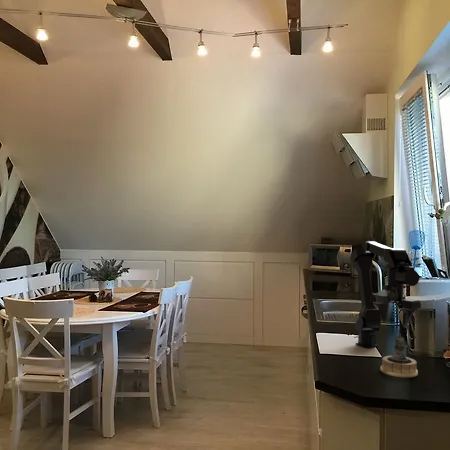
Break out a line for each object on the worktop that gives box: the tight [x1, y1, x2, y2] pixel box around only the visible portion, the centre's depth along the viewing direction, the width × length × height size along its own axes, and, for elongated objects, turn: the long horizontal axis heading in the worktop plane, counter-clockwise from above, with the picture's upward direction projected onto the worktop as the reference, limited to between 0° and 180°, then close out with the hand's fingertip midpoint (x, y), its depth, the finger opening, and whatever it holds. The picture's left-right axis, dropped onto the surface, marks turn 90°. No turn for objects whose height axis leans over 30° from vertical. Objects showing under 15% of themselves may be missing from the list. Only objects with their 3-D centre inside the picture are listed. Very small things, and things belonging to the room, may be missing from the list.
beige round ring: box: [380, 355, 419, 379], centre depth 172 cm, size 12×12×4 cm
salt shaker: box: [390, 333, 409, 364], centre depth 172 cm, size 6×6×12 cm
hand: (394, 324), depth 187 cm, fingers open, 9 cm apart
